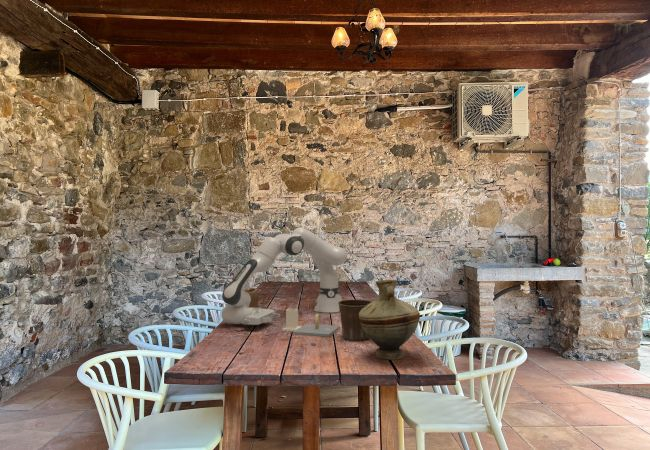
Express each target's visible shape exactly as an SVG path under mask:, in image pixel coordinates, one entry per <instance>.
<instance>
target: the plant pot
mask: <svg viewBox="0 0 650 450" xmlns="http://www.w3.org/2000/svg"><path fill="white" fill-rule="evenodd" d="M371 302H373V301H372V300H368V299H367V300H366V299H343V300H342V301H340V302H338V304H339V310H340V311H339V313H340V321H341V322H340V323H341V331H342V338H343V339H344V340H348V341H351V342H354V341H355V342H356V341H357V342H359V341H362V340H363V341H366V340H368V339H370V338H369V337H368V336H367V334H366V333H365V332H364V330H363V328H362V326H361V323H360V320H359V312H360V311H361V310H362V309H363V308H364V307H365V306H367V305H368V304H370V303H371Z"/></svg>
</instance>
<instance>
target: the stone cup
mask: <svg viewBox="0 0 650 450" xmlns="http://www.w3.org/2000/svg"><path fill="white" fill-rule="evenodd" d="M243 290H244V291H246V292H248V293H249V294H250V296H251V302H250V306H249V308H257V307H261V309H267V306H259V298H260V297H259V296H260V293H259V289H257V288H255V287H251V288H248V289H247V288H245V289H243Z"/></svg>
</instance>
